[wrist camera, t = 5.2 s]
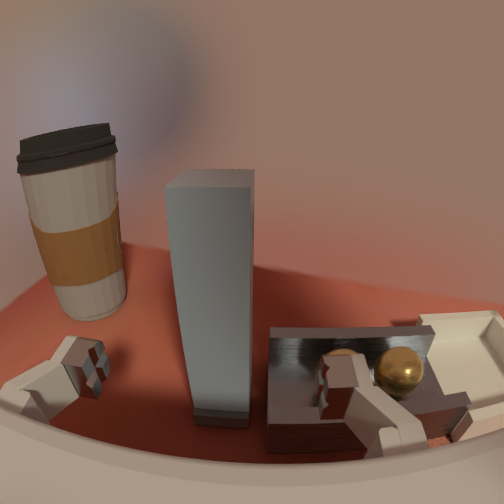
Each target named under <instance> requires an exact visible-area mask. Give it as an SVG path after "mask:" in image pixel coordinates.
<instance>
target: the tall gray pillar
mask: <svg viewBox="0 0 504 504" xmlns="http://www.w3.org/2000/svg"><path fill="white" fill-rule="evenodd" d="M164 190H165V203H166V214H167V224H168V225H167V226H168V236H169V246H170V255H171V264H172V272H173V280H174V288H175V296H176V303H177V310H178V317H179V324H180V330H181V337H182V343H183V349H184V355H185V361H186V367H187V372H188V378H189V383H190V389H191V394H192V399H193V404H194V411H193V418H194V423H195V424H197V425H206V426H217V427H230V428H246V429H248V426H249V413H250V399H251V386H252V321H253V243H254V242H253V241H254V170H248V169H247V170H244V169H192V170H191V169H188V170H184V171H183V172H182V173H180V174H179V175H178V176H177V177H176V178H175V179H174V180H172V181H171V182H170V183H169V184H168V185H167V186H165V189H164Z"/></svg>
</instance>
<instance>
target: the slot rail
mask: <svg viewBox="0 0 504 504" xmlns="http://www.w3.org/2000/svg"><path fill="white" fill-rule="evenodd" d="M435 335H436V334H435V332H434V330H433V328H432V327H431V325H420V326H398V327H363V328H293V327H270V338H269V356H268V392H267V428H266V453H315V452H334V451H348V450H359V449H367V448H366V447H365V445H364V444H363V443H362V442H361V441H360V440H359V439H358V437H357V436H356V435H355V434H354V433H353V432H352V430H351V429H350V428H349V427H348V426H347V425H346V423H345V422H344V421H343V419H335V420H320V416H319V408H318V404H319V400H320V398H319V397H318V396H317V390H316V383H315V370H316V367H317V364H318V363H319V361H320V359H321V356H322V355H326V354H327V353H329V352H330V351H333V350H336V349H350V350H353V351H355V352H357V353H358V354H363V355H364V356H365V359H366V363H367V366H368V369H369V372H370V376H371V379H372V383H373V386H377V385H376V383H375V380H374V367H375V364H376V362H377V360H378V358H379V357H380V356H381V355H382V354H383V353H384V352H385V351H387V350H388V349H390V348H393V347H397V346H404V347H408V348H411V349H412V350H414V351H415V352H416V353H417V354H418V355H419V356H420V358H421V360H422V363H423V376H422V379H421V381H420V383H419V385H418V386H417V387H416V388H415V389H414V390H413V391H412V392H411V393H409V394H407V395H404V396H400V397H393V396H390V397H391V398H393V399H394V400H395V401H396V402H397V403H399V404H400V405H401V406H402V407H404V408H405V409H406V410H407V411H408V412H410V413H411V414H412V415H413V416H415V417H416V418H417V419H418V420H420V421H421V423H422V426H423V429H424V432H425V435H426V438H427V439H432V438H437V437H442V436H446V435H450V434H451V433H452V431H453V430H454V429H455V427H456V426H457V425H458V423H459V422H460V420H461V419H462V418H463V416H464V415H465V413H466V412H467V411H468V409H469V408H470V406H471V405H472V403H471V401H470V399H469V397H468V395H467V393H466V391H464V392H459V393H453V394H448V395H444V393H443V391H442V389H441V386H440V384H439V382H438V380H437V378H436V375H435V373H434V371H433V369H432V367H431V365H430V362H429V360H428V358H427V354H428V351H429V349H430V347H431V344H432V342H433V340H434V337H435Z"/></svg>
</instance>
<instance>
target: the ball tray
mask: <svg viewBox="0 0 504 504" xmlns="http://www.w3.org/2000/svg"><path fill="white" fill-rule="evenodd" d="M420 325H431V327H432V328H433V330H434V332H435V334H436V335H435V337H434V340H433V342H432V344H431V347H430V349H429V351H428V354H427V358H428V360H429V362H430V365H431V367H432V369H433V371H434V373H435V375H436V378H437V380H438V382H439V384H440V386H441V389H442V391H443V393H444V395H448V394H453V393H459V392H464V391H466V393H467V395H468V397H469V399H470V401H471V403H472V405H471V406H470V408H469V409H468V411H467V412H466V413H465V415H464V416H463V418H462V419H461V420H460V422H459V423H458V425H457V426H456V427H455V429H454V430H453V431H452V433H451V434H450V436H451V439H452V442H453V443H454V442H458V441H462V440H466V439H469V438H473V437H476V436H479V435H482V434H486V433H489V432H492V431H495V430H498V429H501V428H504V320H503V319H502V317H501V316H500V315H499V313H498V312H497V311H496V310H490V311H476V312H461V313H443V314H420V315H419V317H418V320H417V323H416V325H415V326H420Z"/></svg>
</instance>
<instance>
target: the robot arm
mask: <svg viewBox="0 0 504 504" xmlns="http://www.w3.org/2000/svg"><path fill="white" fill-rule="evenodd" d="M104 349H105V347H104V344H103V342H102V341H100V340H95V339H89V338H84V337H77V336H72V335H68V336H66V338H65V339H64V340H63V342H62V343H61V345H60V346H59V348H58V349H57V351H56V352H55V353H54V355H53V356H52V358H51V359H50V361H49V360H46V361H44V362H42V363H41V364H39V365H37V366H35V367H33V368H31V369H30V370H28V371H26V372H24V373H22V374H20V375H19V376H17V377H15V378H13V379H11V380H9V381H8V382H6V383H5V384H4V386H3V387H2V388H1V390H0V504H504V428H501V429H498V430H495V431H492V432H489V433H486V434H482V435H479V436H476V437H473V438H469V439H466V440H462V441H458V442H454V443H451V444H447V445H442V446H438V447H434V448H429V444H428V441H427V438H426V435H425V432H424V429H423V426H422V423H421V421H420V420H418V419H417V418H416V417H415V416H413V415H412V414H411V413H410V412H408V411H407V410H406V409H405V408H404V407H402V406H401V405H400V404H399V403H397V402H396V401H395V400H394V399H393V398H391V397H390V396H389V395H388V394H386V393H385V392H384V391H383V390H382V389H380V388H379V387H378V386H373V383H372V379H371V376H370V372H369V369H368V366H367V363H366V359H365V356H364V355H363V354H342V355H322V356H321V359H320V370H319V371H318V374H317V382H316V390H317V396H318V397H319V398H320V400H319V404H318V408H319V416H320V420H335V419H343V421H344V422H345V423H346V425H347V426H348V427H349V428H350V429H351V430H352V432H353V433H354V434H355V435H356V436H357V437H358V439H359V440H360V441H361V442H362V443H363V444H364V445H365V447H366V448H367V449H368V451H367V453H366V454H365V456H364V458H363V459H362V460H352V461H341V462H327V463H307V464H257V463H236V462H222V461H211V460H202V459H193V458H185V457H178V456H171V455H165V454H159V453H153V452H148V451H143V450H138V449H133V448H128V447H124V446H119V445H115V444H111V443H107V442H103V441H99V440H95V439H92V438H88V437H84V436H81V435H78V434H74V433H71V432H68V431H65V430H62V429H59V428H56V427H53V426H52V425H51V424H50V422H49V421H50V420H51V419H52V418H53V417H55V416H56V415H57V414H58V413H60V412H61V411H62V410H63V409H65V408H66V407H67V406H68V405H70V404H71V403H72V402H73V401H75V400H76V399H77V398H78V397H79V396H82V397H87V398H92V399H97V398H98V396H99V394H100V392H101V390H102V388H103V386H102V382H103V381H105V380H106V379H107V378H108V375H109V372H110V361H109V358H108V356H107V355H106V354H105V353H104V352H103V351H104Z"/></svg>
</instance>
